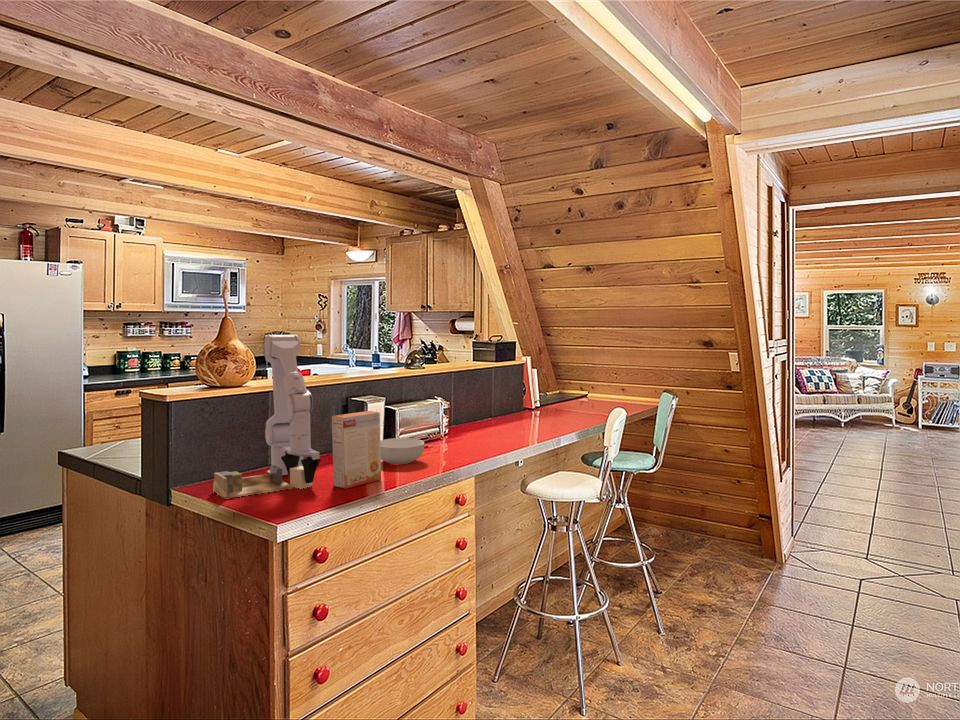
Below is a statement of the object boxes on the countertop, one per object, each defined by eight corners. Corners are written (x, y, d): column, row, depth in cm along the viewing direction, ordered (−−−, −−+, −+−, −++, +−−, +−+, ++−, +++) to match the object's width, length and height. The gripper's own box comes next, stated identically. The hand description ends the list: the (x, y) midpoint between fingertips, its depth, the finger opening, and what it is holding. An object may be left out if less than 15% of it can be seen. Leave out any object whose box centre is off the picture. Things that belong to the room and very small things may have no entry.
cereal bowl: (364, 464, 215) (364, 444, 214) (393, 456, 229) (393, 436, 229) (406, 470, 207) (406, 448, 206) (433, 460, 222) (433, 440, 221)
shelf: (279, 482, 191) (279, 462, 191) (292, 488, 183) (292, 468, 183) (213, 492, 179) (213, 472, 179) (224, 499, 171) (224, 478, 171)
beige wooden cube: (301, 484, 189) (301, 465, 189) (312, 486, 186) (312, 467, 186) (290, 486, 186) (289, 468, 185) (301, 489, 183) (300, 470, 182)
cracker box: (368, 477, 197) (368, 410, 196) (382, 480, 193) (381, 411, 192) (331, 486, 186) (330, 415, 185) (345, 489, 182) (344, 416, 181)
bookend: (275, 480, 189) (275, 465, 189) (282, 483, 185) (282, 468, 184) (270, 480, 188) (270, 466, 188) (277, 484, 184) (276, 469, 183)
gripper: (273, 434, 186) (274, 480, 187) (305, 439, 177) (305, 487, 178) (293, 430, 192) (294, 475, 192) (325, 435, 183) (325, 482, 184)
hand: (301, 480), depth 186 cm, fingers open, 7 cm apart
